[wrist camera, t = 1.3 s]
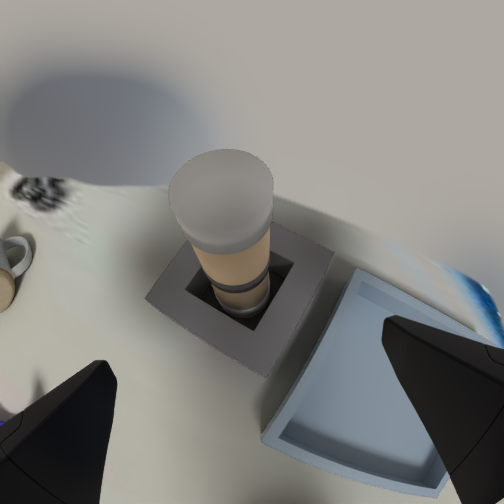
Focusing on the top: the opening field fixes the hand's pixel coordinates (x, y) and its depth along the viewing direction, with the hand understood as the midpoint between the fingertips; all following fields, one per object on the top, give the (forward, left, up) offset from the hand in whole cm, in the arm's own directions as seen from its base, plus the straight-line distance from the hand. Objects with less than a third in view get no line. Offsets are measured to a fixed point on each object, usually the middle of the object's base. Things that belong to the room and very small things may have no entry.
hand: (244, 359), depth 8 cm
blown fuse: (+4, -5, -13) cm, 14 cm away
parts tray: (-11, -3, -13) cm, 17 cm away
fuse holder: (+4, -5, -13) cm, 14 cm away
